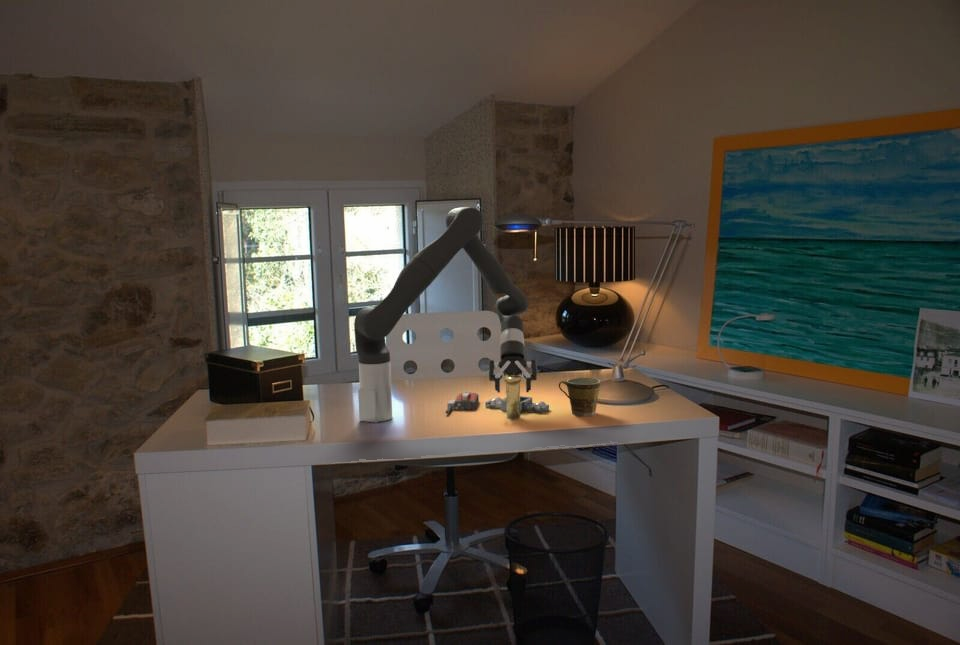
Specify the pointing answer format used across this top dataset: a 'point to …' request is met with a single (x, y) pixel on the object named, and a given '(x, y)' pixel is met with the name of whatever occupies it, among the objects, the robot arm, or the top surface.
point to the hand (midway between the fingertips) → (513, 391)
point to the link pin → (513, 396)
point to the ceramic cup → (582, 395)
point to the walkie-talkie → (463, 402)
